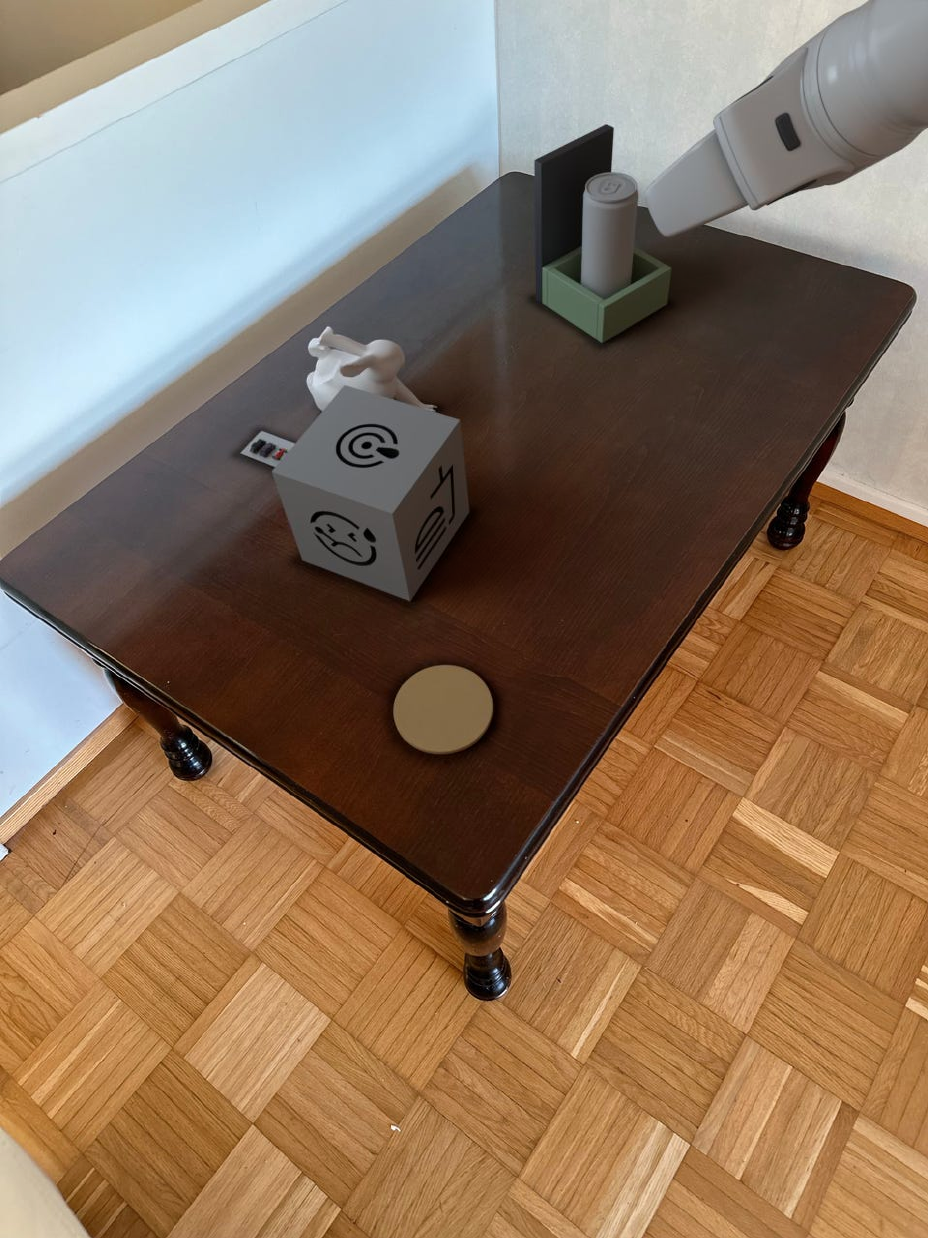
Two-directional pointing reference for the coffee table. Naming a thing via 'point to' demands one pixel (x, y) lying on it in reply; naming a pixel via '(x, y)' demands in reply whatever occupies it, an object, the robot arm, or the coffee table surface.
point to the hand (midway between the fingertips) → (704, 191)
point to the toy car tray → (268, 448)
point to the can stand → (562, 243)
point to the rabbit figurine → (357, 369)
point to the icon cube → (375, 490)
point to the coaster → (443, 709)
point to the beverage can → (608, 233)
